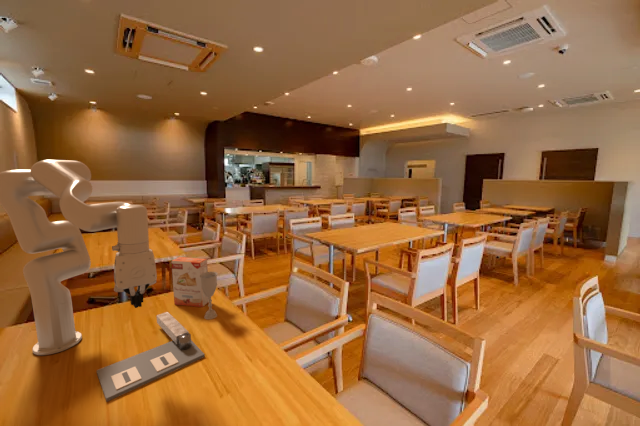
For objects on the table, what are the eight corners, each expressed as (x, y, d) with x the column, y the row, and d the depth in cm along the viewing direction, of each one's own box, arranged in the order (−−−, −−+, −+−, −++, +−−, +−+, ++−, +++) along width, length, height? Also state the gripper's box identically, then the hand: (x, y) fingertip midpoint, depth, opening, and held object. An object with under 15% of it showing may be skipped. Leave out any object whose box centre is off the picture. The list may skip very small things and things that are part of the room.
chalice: (213, 321, 115) (211, 278, 112) (198, 319, 116) (195, 277, 113) (222, 312, 122) (221, 272, 119) (208, 311, 123) (206, 271, 120)
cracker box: (173, 305, 128) (170, 260, 125) (182, 299, 134) (179, 256, 131) (202, 308, 126) (199, 262, 123) (209, 301, 132) (207, 258, 129)
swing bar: (168, 320, 113) (167, 311, 112) (193, 346, 96) (193, 335, 96) (157, 324, 110) (156, 315, 109) (181, 351, 94) (180, 340, 93)
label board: (96, 373, 85) (96, 369, 85) (186, 337, 103) (186, 334, 103) (106, 401, 75) (105, 397, 74) (204, 356, 93) (204, 352, 93)
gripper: (105, 255, 76) (109, 319, 79) (166, 246, 86) (168, 302, 89) (99, 248, 81) (104, 309, 84) (157, 240, 92) (160, 294, 94)
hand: (137, 305), depth 87 cm, fingers closed
